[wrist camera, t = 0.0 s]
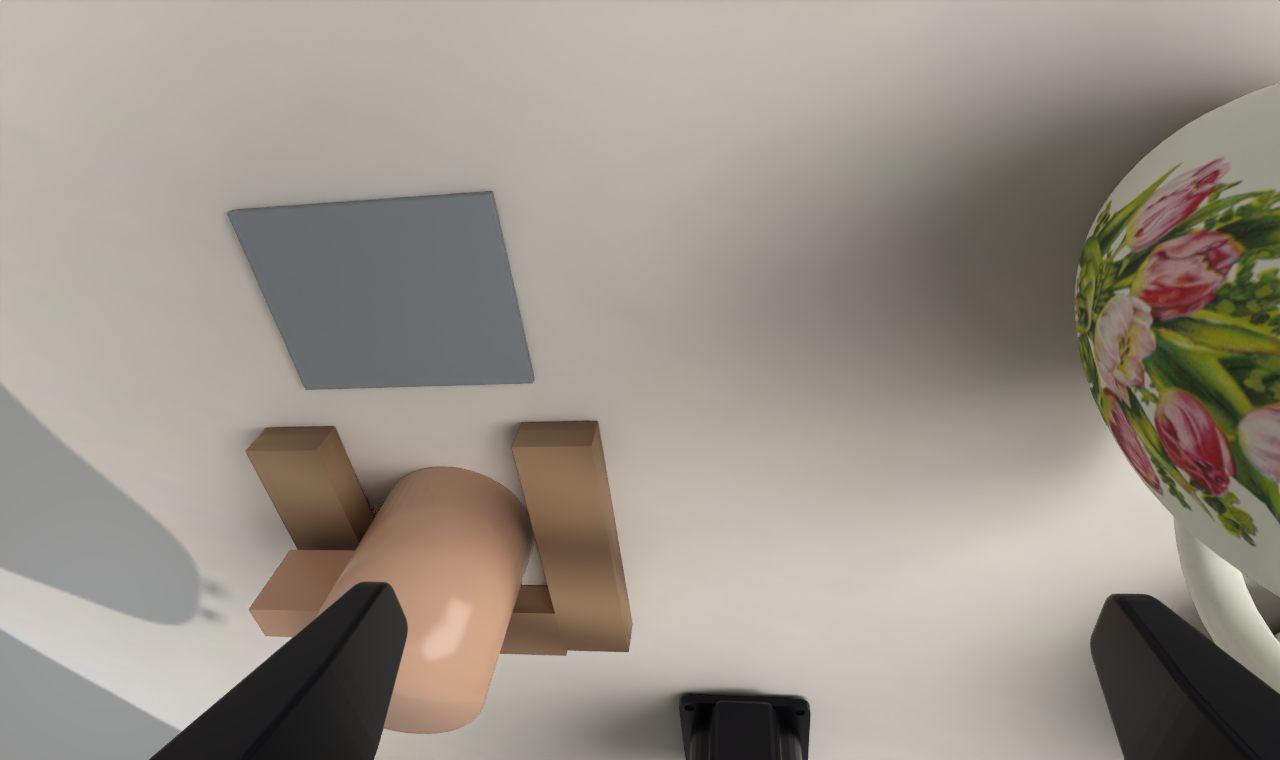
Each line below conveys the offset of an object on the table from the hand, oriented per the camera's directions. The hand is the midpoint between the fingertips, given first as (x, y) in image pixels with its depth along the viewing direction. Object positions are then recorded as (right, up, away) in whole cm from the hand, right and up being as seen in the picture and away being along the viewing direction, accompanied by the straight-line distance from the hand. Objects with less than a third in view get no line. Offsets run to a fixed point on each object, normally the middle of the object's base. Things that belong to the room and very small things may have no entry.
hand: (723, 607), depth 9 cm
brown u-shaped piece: (-9, -3, +21) cm, 23 cm away
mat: (-10, +6, +15) cm, 19 cm away
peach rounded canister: (-11, -3, +21) cm, 24 cm away
